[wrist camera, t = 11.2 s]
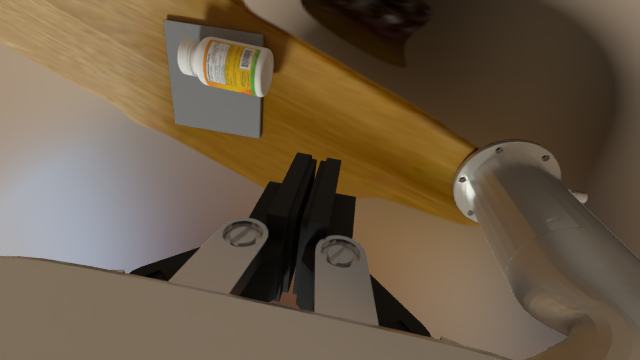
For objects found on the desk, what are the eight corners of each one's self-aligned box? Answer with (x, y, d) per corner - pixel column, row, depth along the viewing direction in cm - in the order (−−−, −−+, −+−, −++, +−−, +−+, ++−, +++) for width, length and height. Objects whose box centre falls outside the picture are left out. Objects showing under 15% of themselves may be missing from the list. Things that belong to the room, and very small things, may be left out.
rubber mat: (263, 34, 37) (262, 35, 37) (260, 136, 44) (259, 138, 43) (166, 19, 38) (163, 19, 37) (177, 122, 44) (175, 123, 44)
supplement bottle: (273, 87, 40) (199, 71, 40) (276, 42, 36) (195, 25, 37) (259, 105, 36) (177, 87, 36) (261, 57, 32) (169, 38, 33)
